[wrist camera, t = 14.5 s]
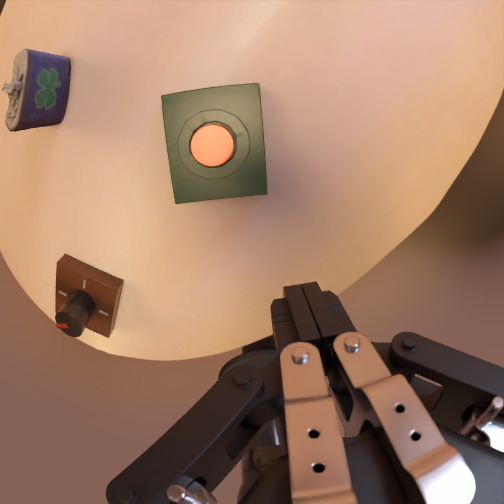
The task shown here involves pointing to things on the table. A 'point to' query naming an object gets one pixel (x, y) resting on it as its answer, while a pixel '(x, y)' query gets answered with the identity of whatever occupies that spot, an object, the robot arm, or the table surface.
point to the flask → (37, 90)
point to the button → (212, 145)
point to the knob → (75, 313)
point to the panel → (89, 291)
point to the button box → (232, 118)
